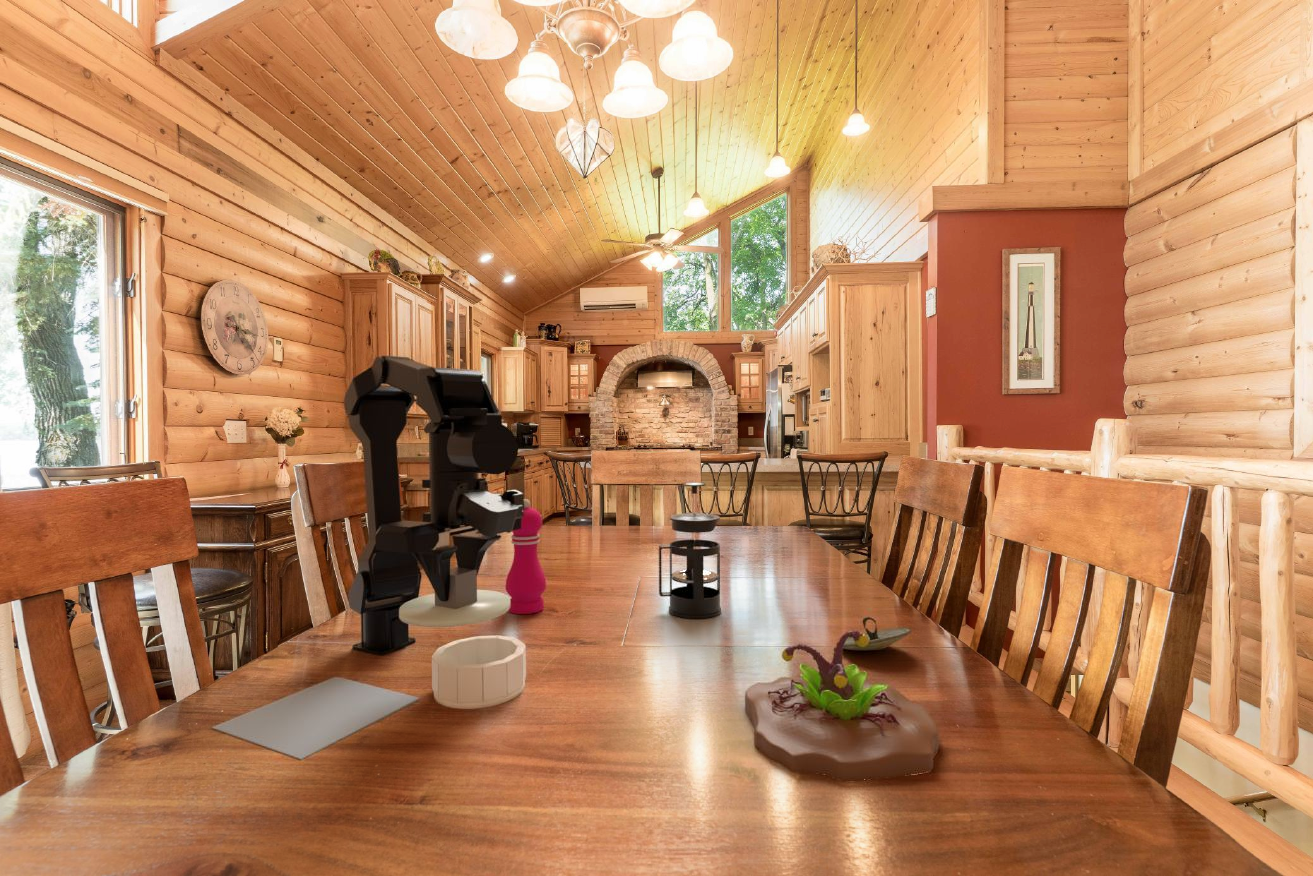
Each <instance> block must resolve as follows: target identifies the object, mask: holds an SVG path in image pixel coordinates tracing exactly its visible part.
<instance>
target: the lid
mask: <svg viewBox="0 0 1313 876" xmlns="http://www.w3.org/2000/svg"><path fill="white" fill-rule="evenodd" d="M870 620H871V621H873V623H874V624H875V625H877V621H876V620H875V618H872V617H870V616H867V617H864V618H863V619H862V625H863V628H864V629H865V632H866V633H865V632H864V634H865V635H866V636H867V637H868V639H869V642H868V644H867V646H865V647H860V646H858V645H857V644H856V643H855V642H854V640H853V638H852V637H848V638H847V639H846V642H845V644H844V647H843V650H844V649H845V650H851V651H877V650H884V649H885V648H887V647H888V648H889V646H892V645H894V644H895V643H896V644H897V642H900V641H901V640H903V639H904V638H906V637H907V636H908V635H909V634H911V632H912V630H911V629H910V628H909V627H899V628H897V627H896V628H889V629H888V628H887V629H882V630H881V629H880V630H878V627H877V626H875V629H874V631H872V632H871V631H870V630H869V629H868V628H866V624H867V621H870Z"/></svg>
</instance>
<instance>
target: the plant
mask: <svg viewBox="0 0 1313 876" xmlns="http://www.w3.org/2000/svg"><path fill="white" fill-rule="evenodd" d="M851 637H852V638H853V640H854V642H855V643H856V644H857V645H858V646H860V647H865V646H867V644H868V642H869V639H868V637H867V636H866V635H865V632H862V631H861V630H854V629H852V630H850V631H849V630H846V631H845V633H844V634H843V635H841V636H840V637H839V640H838V641H837V642H836V646H835V647H834V648H833V655H832V656H833V657H832V660H831V662H829V661H827V659H825V657H823V655H821V653H820V652H818V651H817V649H814V648H813V647H810V646H808V645H807V644H802V643H801V644H800V643H799V644H796V645H792V646H788V647H786V648H784V650H782V651H781V657H782V659H783V661H785V662H791V661H792V660H793V658H794V652H795V651H796V650H798V651H799V650H801V651H804V652H806V653H808V654H809V655H811V656H812V659H813V661H815V663H816V664H817V669H818V670H817V669H815V668H814V667H812V666H809V665H806V664H804V663H801V664H800V665H799V669H800V671H801V672H802V673H800V677H789V676H780V677H778V678H777V679H775V680H774V681H773V680H772V681H769V682H756V683H754V684H753V685H751V686H749V688H747V689H746V691H745V693H744V694H745V695H744V709H745V713H746V714H747V717H748V718H749V720H750V721H751V723H752V725H753V729H754V731H753V746H754V747H755V748H756V749H758V751H760V752H761V753H762V754H763V755H764V756H765V757H767V758H768V759H769V760H771V761H772V762H775V763H777V764H779V765H781V766H783V768H786V769H787V770H789V771H790V772H792V773H798V775H801V774H802V773H803V774H814V773H819V774H818V775H821V774H825V775H827V776H826V777H828V776H831V777H830V778H832V777H834V778H836V779H835V780H837V779H839V780H841V781H840V782H845V781H855V782H860V781H859V780H863V781H867V780H866V779H875V780H882V779H881V778H884V779H890V778H889V777H893V778H899V777H898V776H902V777H906V776H905V775H911V774H917V773H918V774H919V773H924V772H925V773H926V772H927V771H928V772H929V771H932V769H933V770H934V760H933V758H934V759H935V757H934V755H935V754H936V752H937V751H938V749H939V750H940V748H939V747H940V746H939V745H940V744H939V739H940V738H939V729H938V726H937V724H936V722H935V720H933V718H932V717H931V715H930V713H929V712H928V710H927V709H926V708H925V706H923V705H921V704H918V703H916V702H914V701H912V700H910V699H908V698H907V697H906V696H905V695H904V694H903V693H902V692H901V691H900V690H898V689H897V688H895V687H894V686H891V685H888V684H883V683H878V682H873V681H869V680H867V677H868V673H867V672H866V671H865V670H864V671H863V670H862V671H860V668H858V666H857V664H854V663H852V664H849V665H846V666H845V667H844V664H843V652H844V648H843V647H844V644H845V642H846V639H847V638H851ZM938 752H939V751H938ZM936 755H937V754H936ZM936 755H935V756H936ZM800 773H801V774H800ZM803 774H802V775H803ZM825 775H824V776H825ZM887 777H888V778H887ZM834 778H833V779H834ZM876 778H877V779H876ZM878 778H880V779H878ZM864 779H865V780H864ZM839 780H838V781H839Z"/></svg>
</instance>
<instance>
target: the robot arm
mask: <svg viewBox="0 0 1313 876" xmlns="http://www.w3.org/2000/svg"><path fill="white" fill-rule="evenodd" d="M415 401H416V402H415ZM414 403H415V404H416V405H417V406H418V407H419V408H420V409H422V410H423V412H425V413H426V416H428V418H429V420H430V421H429V422H428V423H427V424H426V425H425V427H424V429H423V432H424V433H425V434H428V448H429V449H428V455H429V456H428V458H429V459H428V460H429V467H428V469H429V470H428V471H429V478H426V479H425V478H424V479H421V488H422V489H429V511H428V512H423V513H422V521H414V520H403V515H402V503H401V500H402V499H401V487H400V473H399V472H400V471H399V456H398V455H399V454H398V440H399V438H400V437H401V434H402V433H403V432H404V429H405V427H406V426H407V424H408V418H407V417H408V412H409V411H410V410H411V408H412V406H413V404H414ZM343 405H344V406H343V407H344V411H345V414H346V415H347V416H348V422H349V428H350V430H351V431H352V432H353V434H354V435H355V437H356V438H357V439H358V440H359V442H360V443H361V444H362V453H363V454H362V456H363V471H364V472H363V473H364V486H365V487H364V488H365V498H366V499H365V500H366V515H367V517H366V519H367V533H368V542H367V544H366V545H365V546H364V548H363V549H362V550H363V551H362V552H361V554H360V556H359V558H358V560H357V572H356V574H355V577H354V579H353V582H352V584H351V586H350V588H349V591H348V593H347V594H348V595H347V596H348V604H349V605H348V606H349V608H350V609H351V610H352V611H354V612H355V613H357V614H358V615H360V631H361V632H360V634H361V637H360V639H361V642H358V643H354V644H353V645H352V650H355V651H360V652H364V653H368V654H369V653H370V654H373V655H378V656H384V655H387V654H388V653H392V652H395V651H397V650H399V649H401V648H403V647H406V646H409V645H411V644H414V643H416V640H417V639H416V638H415V637H411V636H409V634H410V631H409V629H410V627H409V626H410V624H407V623H404V622H402V621H401V620H400V618H399V608H400V607H401V606H402V605H403V604H404V603H406V602H408V601H410V600H413V599H415V598H418V597H420V596H419V595H420V589H421V581H422V571H421V568H422V570H423V572H424V574H425V575H426V577H427V579H428V581H429V583H430V585H431V587H432V588H433V590H434V593H435V592H436V594H437V596H438V598H439V600H440V601H444V602H446V601H448V598H449V590H450V568H451V559H452V557H453V556H454V554H455V559H456V567H460V568H467V569H475V570H477V575H478V574H479V570H480V567H481V565H482V561H483V559H484V557H485V555H486V552H487V550H488V549H489V548H490V547H491V546H492V545H493V544H494V543H495V542H497V541H499V540H501V538H502V535H499V534H503V533H506V534H510V533H513V532H512V531H513V530H518V529H521V518H522V517H524V512H523V511H524V499H525V498H524V493H523V492H521V491H519V490H517V489H511V490H510V489H509V490H505V491H504V492H503V493H502V494H501V493H492V492H490V491H489V488H488V485H489V484H488V481H487V477H479V474H486V475H500V474H503V473H505V472H507V471H508V470H510V469H511V468H512V466H514V464H515V462H516V460H517V457H518V454H519V453H518V452H519V443H518V442H517V439H516V436H515V434H514V433H513V431H512V430H510V428H509V427H508V426H506V425H504V424H503V415H502V413H499V411H500V408H499V407H498V405H497V404H496V402H495V401H494V399H493V396H492V394H491V390H490V389H489V386H488V383H487V382H486V381H485V379H484V376H483V374H482V373H481V371H479V370H477V369H467V368H464V369H463V368H452V367H451V368H449V367H436V366H434V367H433V366H431V365H427V364H424V363H422V362H419V361H415V359H412V358H410V357H408V356H395V355H384V354H383V355H381V356H376V358H374V361H373V362H372V364H371V366H370V367H369V368H367V369H365V370H364V371H362V372H361V373H359V374H357V375H356V376H355V377H353V378H352V379H351V382H350V384H349V387H348V389H347V390H346V392H345V395H344V401H343ZM451 536H452V541H453V545H450V537H451ZM419 565H420V566H421V568H420V566H419Z"/></svg>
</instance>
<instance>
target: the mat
mask: <svg viewBox="0 0 1313 876" xmlns="http://www.w3.org/2000/svg"><path fill="white" fill-rule="evenodd" d="M418 701H421V698H420V697H417V696H413V695H409V694H406V693H402V692H398V691H394V690H390V689H386V688H382V687H379V686H375V685H371V684H367V683H364V682H359V681H355V680H352V679H347V678H343V677H340V676H333V677H331V678H328V679H325V680H324V681H321V682H319V683H316V684H314V685H312V686H309V687H307V688H304V689H302V690H298V691H297V692H294V693H292V694H289V695H287V696H285V697H283V698H279V699H278V700H274V701H272V702H270V703H268V704H265V705H262V706H260V707H258V708H256V709H252V710H251V711H249V712H246V713H244V714H241V715H237V716H236V717H234V718H231V719H229V720H227V721H224V722H221V723H219V724H217V725H215V726H212V727H211V729H213V730H216V731H218V732H220V733H223V734H227V735H229V736H233V737H235V738H237V739H240V740H243V741H246V742H249V743H252V744H255V745H257V746H261V747H263V748H266V749H269V750H272V751H274V752H277V753H281V754H283V755H286V756H289V757H290V758H294V759H297V760H299V761H302V760H304V759H306V758H308V757H310V756H312V755H314V754H316V753H318V752H320V751H322V750H324V749H326V748H328V747H331V745H334V744H336V743H338V742H340V741H342V740H344V739H346V738H348V737H350V736H351V735H354V734H356V733H357V732H359V731H361V730H363V729H365V728H368V727H369V726H371V725H373V724H375V723H377V722H379V721H381V720H383V719H385V718H387V717H389V716H390V715H393V714H395V713H397V712H398V711H399V712H400V710H402V709H405V708H406V707H409V706H410V705H412V704H414V703H416V702H418Z"/></svg>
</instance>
